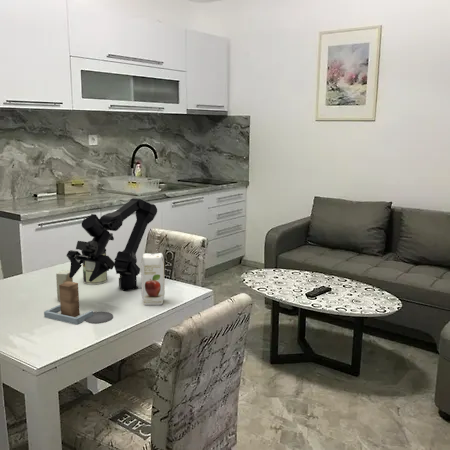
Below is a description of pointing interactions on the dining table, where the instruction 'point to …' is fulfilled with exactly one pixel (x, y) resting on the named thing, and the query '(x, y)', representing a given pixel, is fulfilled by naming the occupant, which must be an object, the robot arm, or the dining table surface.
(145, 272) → the juice carton
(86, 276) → the coffee can
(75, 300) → the walnut block
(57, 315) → the grey u-frame
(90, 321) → the coaster
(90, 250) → the robot arm
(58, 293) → the box
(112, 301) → the dining table surface
